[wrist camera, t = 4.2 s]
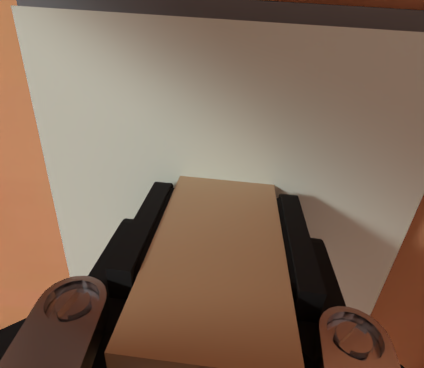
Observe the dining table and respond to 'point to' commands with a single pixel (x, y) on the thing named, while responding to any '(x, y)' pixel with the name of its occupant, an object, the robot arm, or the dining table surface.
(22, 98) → the dining table surface
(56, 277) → the dining table surface
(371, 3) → the dining table surface
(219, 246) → the lid
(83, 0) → the mat
